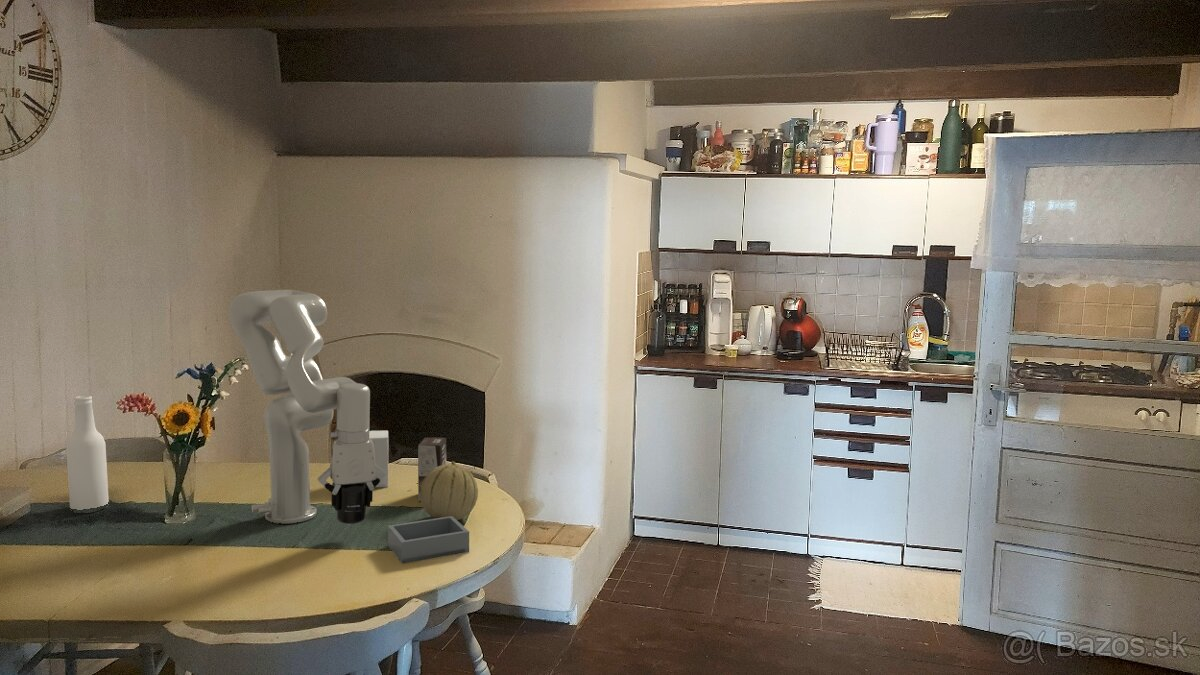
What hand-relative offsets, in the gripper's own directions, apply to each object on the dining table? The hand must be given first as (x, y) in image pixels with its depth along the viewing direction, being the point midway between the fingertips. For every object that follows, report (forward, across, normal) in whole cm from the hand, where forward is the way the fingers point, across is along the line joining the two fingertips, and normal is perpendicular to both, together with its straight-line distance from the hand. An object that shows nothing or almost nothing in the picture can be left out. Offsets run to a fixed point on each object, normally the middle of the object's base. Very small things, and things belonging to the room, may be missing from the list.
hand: (352, 506), depth 210 cm
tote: (+7, +15, -14) cm, 22 cm away
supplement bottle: (+4, 0, 0) cm, 4 cm away
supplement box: (+10, +16, +42) cm, 45 cm away
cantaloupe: (+8, +26, +3) cm, 27 cm away
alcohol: (+12, -56, +50) cm, 77 cm away
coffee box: (+9, +28, +22) cm, 37 cm away
